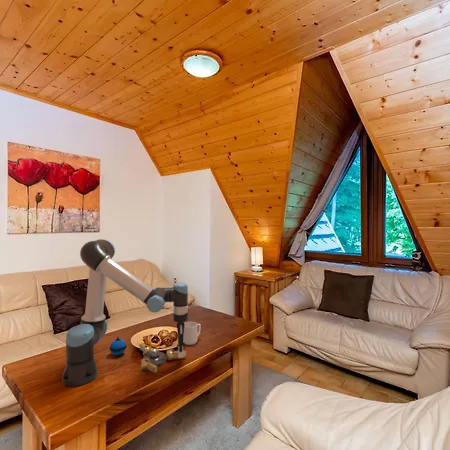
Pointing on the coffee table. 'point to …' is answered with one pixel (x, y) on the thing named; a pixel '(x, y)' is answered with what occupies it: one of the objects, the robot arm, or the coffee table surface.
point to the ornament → (117, 346)
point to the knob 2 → (148, 365)
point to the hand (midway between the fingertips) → (180, 356)
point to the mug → (191, 333)
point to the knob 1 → (145, 349)
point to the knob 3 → (173, 354)
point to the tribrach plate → (157, 361)
